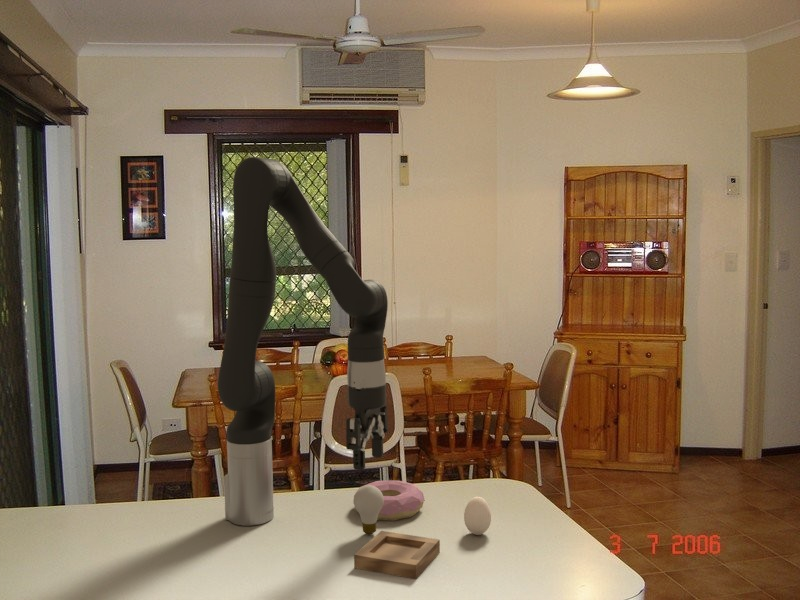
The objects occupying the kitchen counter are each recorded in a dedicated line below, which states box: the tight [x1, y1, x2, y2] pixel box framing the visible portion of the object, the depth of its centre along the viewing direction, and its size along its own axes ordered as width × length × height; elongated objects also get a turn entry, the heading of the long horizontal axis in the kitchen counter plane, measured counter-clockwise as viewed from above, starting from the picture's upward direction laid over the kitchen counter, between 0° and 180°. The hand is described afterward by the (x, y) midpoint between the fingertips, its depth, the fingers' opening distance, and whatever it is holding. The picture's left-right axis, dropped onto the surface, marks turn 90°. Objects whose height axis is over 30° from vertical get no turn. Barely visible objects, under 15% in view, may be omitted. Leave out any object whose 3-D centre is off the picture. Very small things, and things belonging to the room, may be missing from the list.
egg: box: [463, 496, 492, 536], centre depth 159 cm, size 5×5×8 cm
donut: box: [353, 479, 426, 522], centre depth 173 cm, size 16×15×5 cm
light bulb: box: [353, 484, 384, 536], centre depth 159 cm, size 6×6×10 cm
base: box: [353, 530, 441, 580], centre depth 148 cm, size 12×12×2 cm
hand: (368, 462), depth 158 cm, fingers open, 8 cm apart
